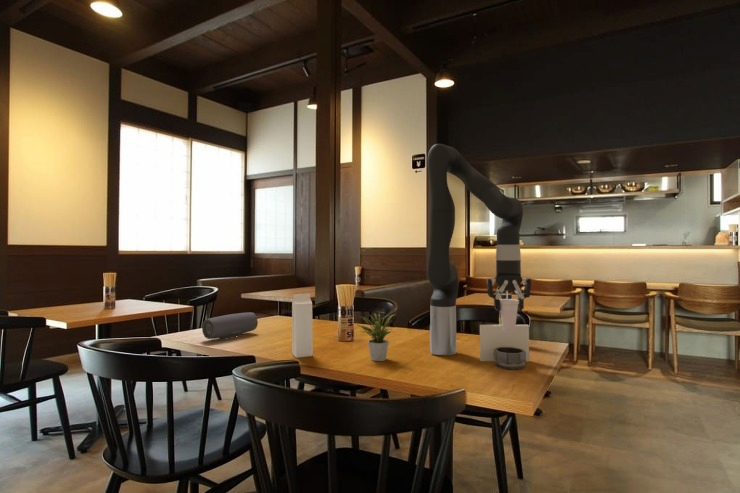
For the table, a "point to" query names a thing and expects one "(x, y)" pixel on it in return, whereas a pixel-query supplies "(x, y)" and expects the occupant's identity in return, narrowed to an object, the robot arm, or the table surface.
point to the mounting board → (502, 340)
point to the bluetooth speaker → (229, 325)
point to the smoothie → (508, 313)
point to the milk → (302, 326)
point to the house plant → (377, 338)
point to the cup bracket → (510, 358)
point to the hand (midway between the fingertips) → (508, 310)
